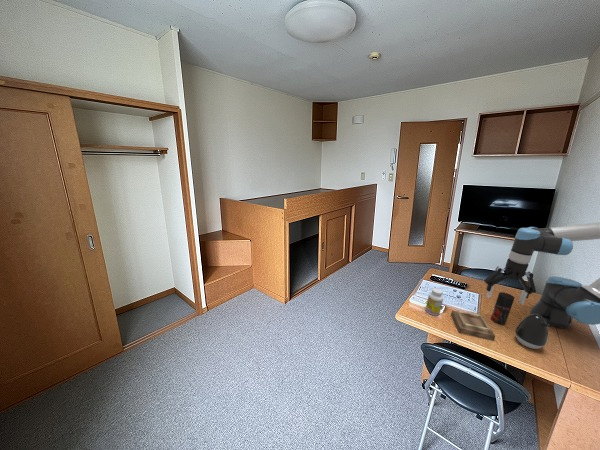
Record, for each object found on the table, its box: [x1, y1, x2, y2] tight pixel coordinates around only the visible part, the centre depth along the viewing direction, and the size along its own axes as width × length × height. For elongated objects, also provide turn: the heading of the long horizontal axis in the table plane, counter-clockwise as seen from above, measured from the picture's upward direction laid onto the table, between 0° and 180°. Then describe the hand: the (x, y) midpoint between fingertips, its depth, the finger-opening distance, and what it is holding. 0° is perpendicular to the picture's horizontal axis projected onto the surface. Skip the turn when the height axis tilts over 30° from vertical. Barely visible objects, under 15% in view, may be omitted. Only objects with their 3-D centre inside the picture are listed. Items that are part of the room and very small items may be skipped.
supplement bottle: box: [425, 287, 444, 316], centre depth 126 cm, size 7×7×13 cm
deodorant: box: [490, 291, 515, 326], centre depth 121 cm, size 6×6×15 cm
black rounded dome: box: [514, 313, 551, 350], centre depth 106 cm, size 10×10×15 cm
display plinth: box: [450, 310, 496, 341], centre depth 118 cm, size 14×14×4 cm
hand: (504, 300), depth 120 cm, fingers open, 13 cm apart
